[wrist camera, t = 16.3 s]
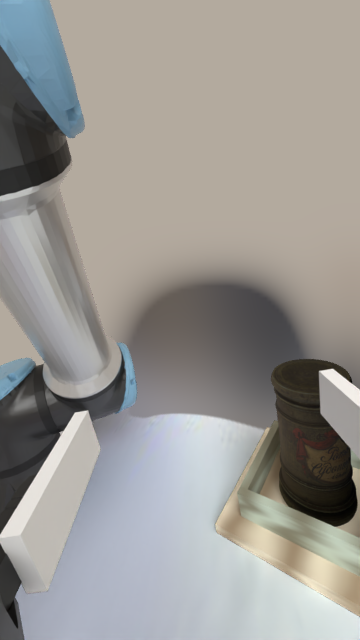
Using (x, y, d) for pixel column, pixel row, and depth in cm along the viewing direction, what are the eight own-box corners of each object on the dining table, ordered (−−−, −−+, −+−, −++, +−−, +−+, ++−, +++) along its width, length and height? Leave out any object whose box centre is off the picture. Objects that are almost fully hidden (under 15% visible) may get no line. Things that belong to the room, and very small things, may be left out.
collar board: (216, 532, 34) (210, 500, 32) (267, 433, 49) (264, 408, 47) (428, 656, 21) (432, 613, 20) (409, 473, 36) (411, 441, 35)
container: (266, 486, 37) (252, 373, 32) (311, 457, 40) (303, 350, 36) (324, 545, 29) (315, 406, 24) (374, 503, 32) (374, 373, 28)
